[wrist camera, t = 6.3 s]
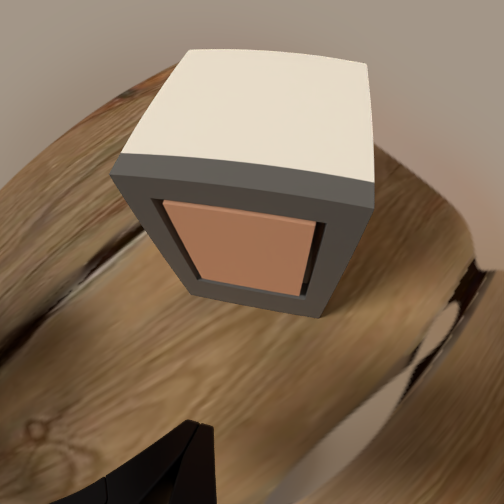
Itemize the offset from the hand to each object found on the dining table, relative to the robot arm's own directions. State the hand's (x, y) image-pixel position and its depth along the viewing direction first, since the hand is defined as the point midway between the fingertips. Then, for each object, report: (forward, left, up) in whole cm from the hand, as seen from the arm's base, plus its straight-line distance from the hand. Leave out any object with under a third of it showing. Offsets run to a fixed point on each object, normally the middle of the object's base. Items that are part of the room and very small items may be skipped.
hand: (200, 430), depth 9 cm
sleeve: (+9, -2, -7) cm, 12 cm away
